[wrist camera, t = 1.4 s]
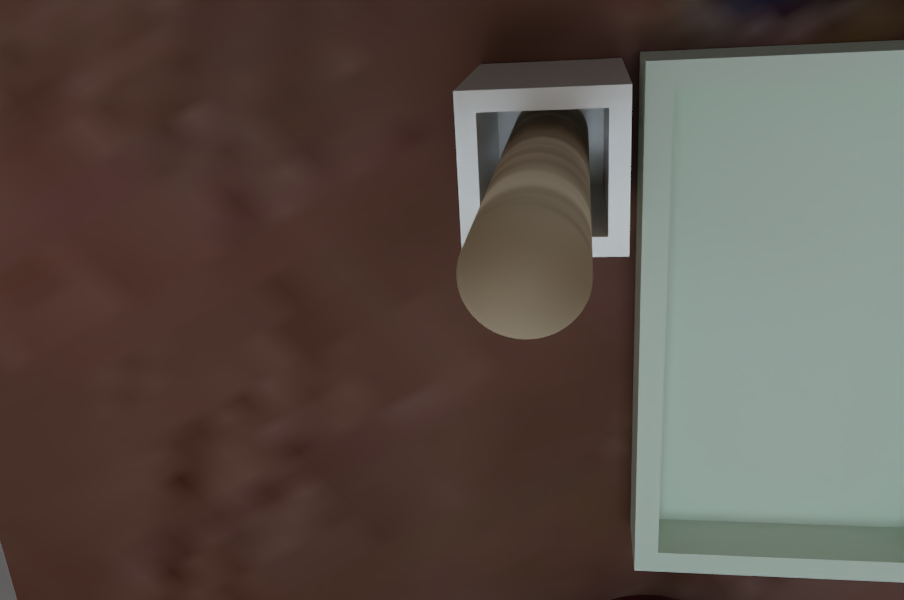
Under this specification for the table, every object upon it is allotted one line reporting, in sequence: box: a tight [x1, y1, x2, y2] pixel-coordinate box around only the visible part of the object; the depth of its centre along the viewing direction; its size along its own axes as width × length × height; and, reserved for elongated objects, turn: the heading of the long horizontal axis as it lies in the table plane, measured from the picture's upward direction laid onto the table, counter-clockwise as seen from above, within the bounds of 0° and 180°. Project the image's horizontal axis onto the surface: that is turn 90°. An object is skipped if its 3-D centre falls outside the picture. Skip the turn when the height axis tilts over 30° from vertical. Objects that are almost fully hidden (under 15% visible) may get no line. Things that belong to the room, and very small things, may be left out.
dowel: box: [457, 109, 593, 339], centre depth 27 cm, size 3×3×17 cm
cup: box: [453, 58, 632, 257], centre depth 32 cm, size 6×6×8 cm
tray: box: [630, 40, 904, 582], centre depth 35 cm, size 22×13×4 cm, turn 4°
